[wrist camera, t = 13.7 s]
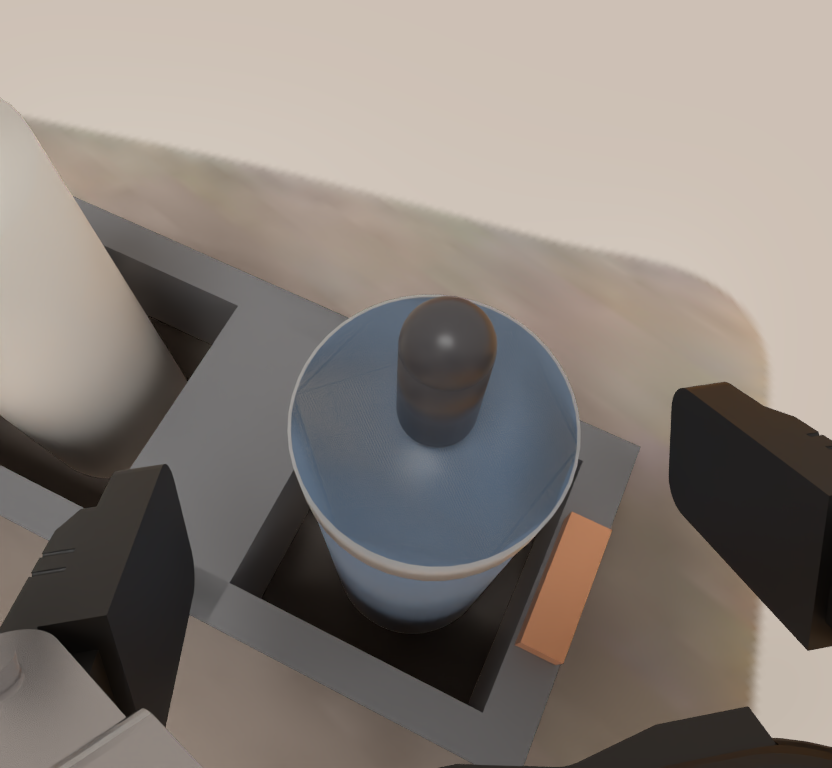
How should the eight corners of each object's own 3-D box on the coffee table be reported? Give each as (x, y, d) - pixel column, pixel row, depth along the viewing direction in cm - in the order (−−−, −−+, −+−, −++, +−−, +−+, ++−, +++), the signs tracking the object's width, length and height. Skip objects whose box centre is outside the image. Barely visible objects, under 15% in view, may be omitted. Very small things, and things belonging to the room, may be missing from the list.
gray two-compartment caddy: (-88, 466, 22) (-790, 117, 9) (81, 254, 25) (-252, -236, 12) (491, 769, 19) (712, 913, 6) (598, 489, 22) (894, 189, 9)
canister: (306, 591, 21) (172, 406, 8) (377, 455, 22) (364, 116, 9) (451, 664, 20) (566, 593, 7) (513, 518, 22) (697, 247, 9)
